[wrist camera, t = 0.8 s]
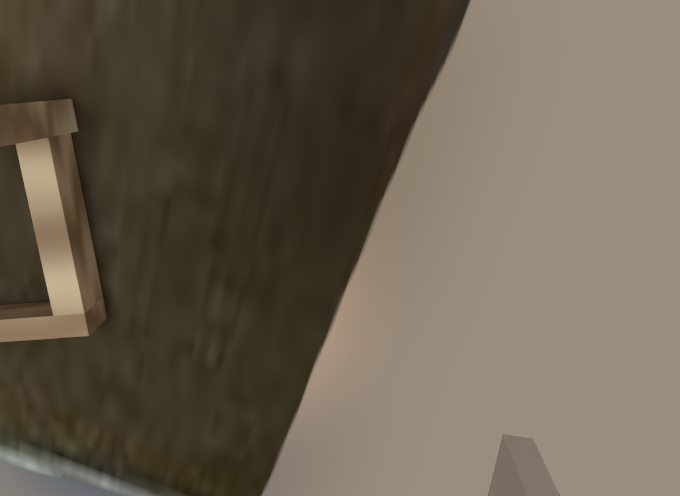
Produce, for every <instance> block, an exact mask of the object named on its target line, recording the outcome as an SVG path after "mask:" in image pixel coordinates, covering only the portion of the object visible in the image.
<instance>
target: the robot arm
mask: <svg viewBox="0 0 680 496" xmlns="http://www.w3.org/2000/svg"><path fill="white" fill-rule="evenodd" d="M488 496H560V495H559V493H558V491H557V489H556V487H555V485H554V482H553V481H552V478H551V476H550V474H549V472H548V470H547V468H546V465H545V464H544V461H543V459H542V457H541V455H540V453H539V451H538V449H537V446H536V444H535V442H534V440H533V439H530V438H524V437H517V436H510V435H504V434H503V436H502V440H501V445H500V449H499V453H498V457H497V461H496V465H495V469H494V473H493V477H492V481H491V485H490V489H489V493H488Z"/></svg>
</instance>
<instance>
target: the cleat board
mask: <svg viewBox="0 0 680 496" xmlns="http://www.w3.org/2000/svg"><path fill="white" fill-rule="evenodd" d="M73 132H78V127H77V122H76V117H75V111H74V106H73V101H72V99H64V100H51V101H39V102H27V103H14V104H2V105H0V147H3V146H8V145H13V144H16V149H17V153H18V158H19V162H20V167H21V171H22V176H23V180H24V185H25V190H26V194H27V199H28V203H29V208H30V212H31V217H32V221H33V226H34V230H35V235H36V240H37V244H38V249H39V253H40V258H41V262H42V267H43V271H44V276H45V280H46V285H47V289H48V294H49V299H50V301H49V302H35V303H22V304H9V305H0V342H9V341H23V340H37V339H51V338H65V337H79V336H89V335H90V334H91V333H92V332H93V331H94V330H96V329H97V328H98V327H99V326H100V325H101V324H102V323H103V322H104V321H105V320H106V319H107V314H106V309H105V304H104V299H103V294H102V289H101V284H100V279H99V274H98V269H97V264H96V259H95V253H94V248H93V243H92V238H91V233H90V228H89V223H88V218H87V213H86V208H85V203H84V198H83V193H82V187H81V182H80V177H79V172H78V167H77V162H76V157H75V152H74V147H73V142H72V137H71V133H73Z"/></svg>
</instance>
